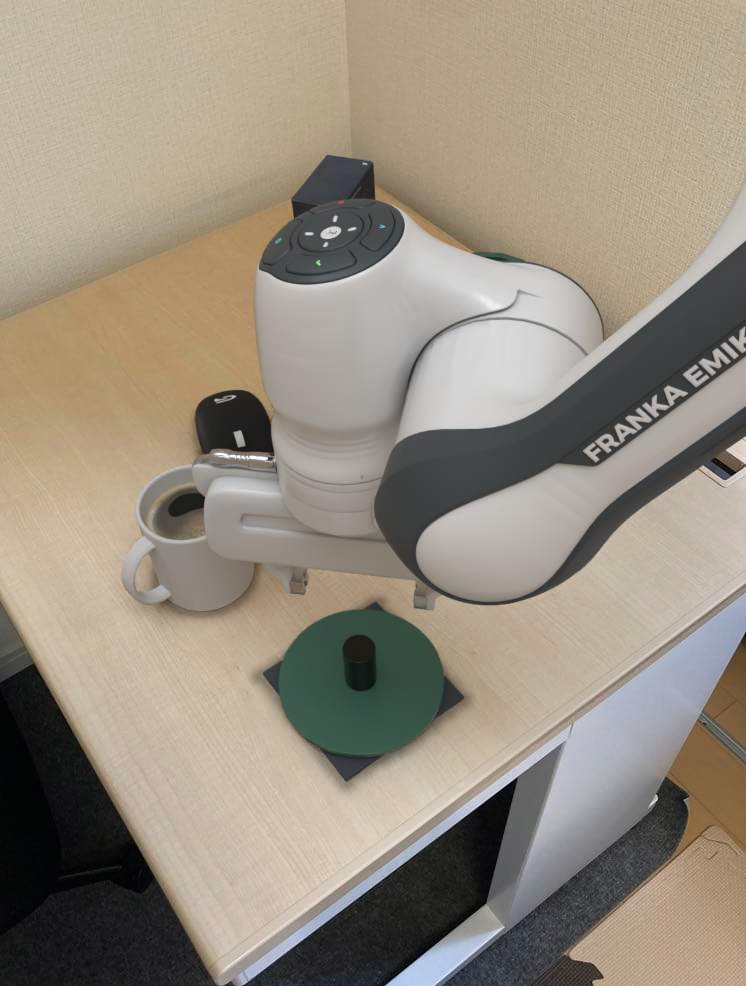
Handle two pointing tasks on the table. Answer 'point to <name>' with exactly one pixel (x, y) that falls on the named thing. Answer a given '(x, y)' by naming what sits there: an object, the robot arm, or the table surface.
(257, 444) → the computer mouse
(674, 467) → the robot arm
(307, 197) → the box
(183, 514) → the mug
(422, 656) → the tin lid
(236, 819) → the table surface
